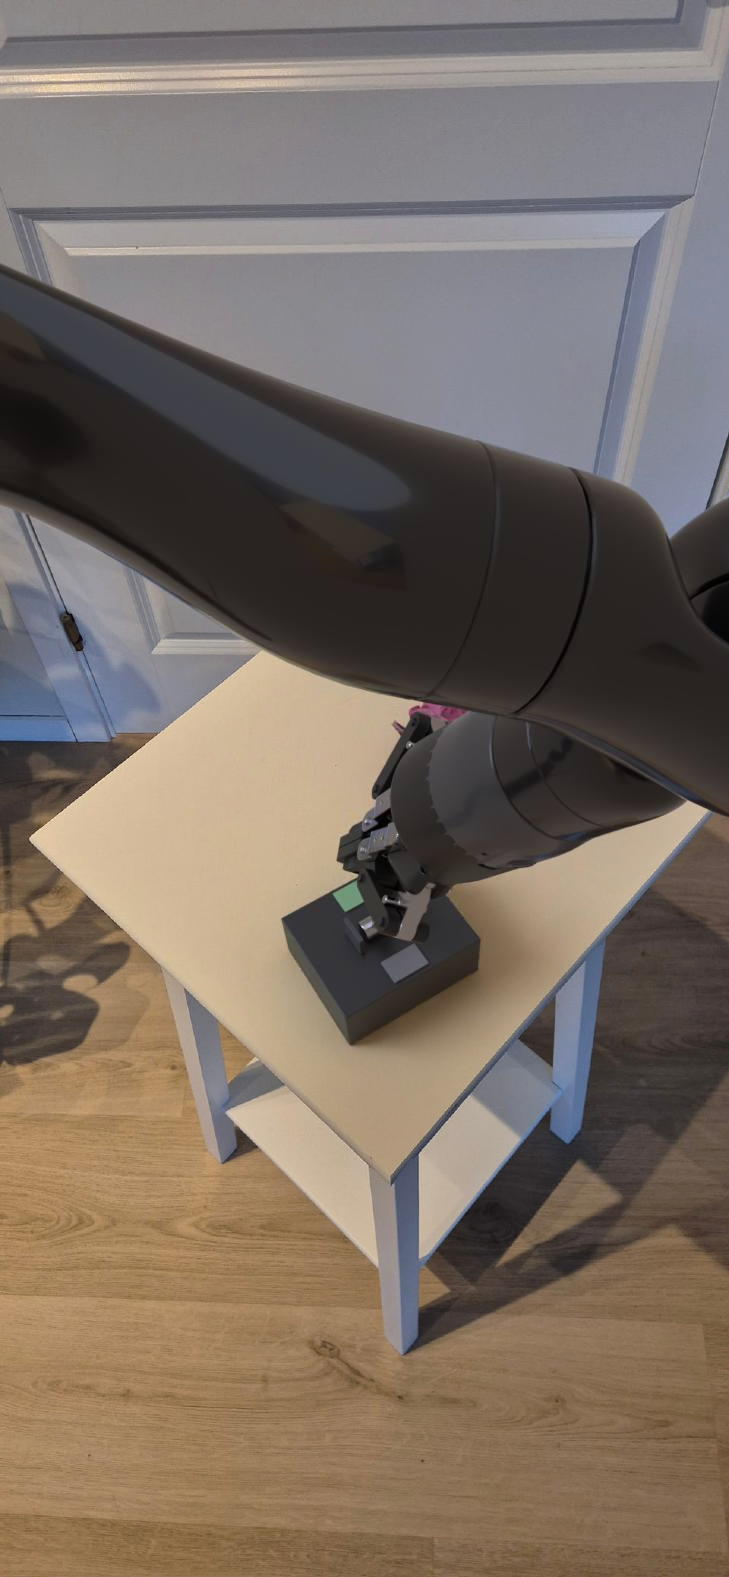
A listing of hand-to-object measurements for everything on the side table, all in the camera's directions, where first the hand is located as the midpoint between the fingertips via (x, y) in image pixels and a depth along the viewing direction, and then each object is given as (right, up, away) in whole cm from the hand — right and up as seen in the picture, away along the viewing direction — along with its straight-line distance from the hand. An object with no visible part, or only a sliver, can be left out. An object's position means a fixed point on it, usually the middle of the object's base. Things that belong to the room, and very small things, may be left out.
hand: (352, 854), depth 60 cm
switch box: (+2, -10, +21) cm, 23 cm away
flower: (+9, +7, +33) cm, 35 cm away
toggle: (+2, -6, +17) cm, 18 cm away
